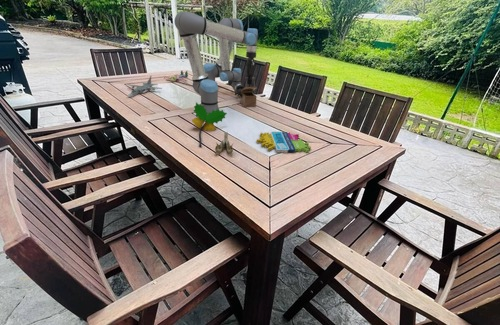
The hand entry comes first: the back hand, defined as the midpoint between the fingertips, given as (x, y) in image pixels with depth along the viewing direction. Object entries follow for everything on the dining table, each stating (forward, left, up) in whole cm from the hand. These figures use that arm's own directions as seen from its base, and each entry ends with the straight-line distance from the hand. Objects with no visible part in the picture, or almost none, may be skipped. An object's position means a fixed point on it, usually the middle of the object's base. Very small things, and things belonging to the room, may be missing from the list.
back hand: (247, 95), depth 214 cm
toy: (-103, -4, -7) cm, 104 cm away
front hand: (+3, -2, +10) cm, 11 cm away
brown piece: (+2, -1, +5) cm, 6 cm away
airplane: (-73, -56, -7) cm, 92 cm away
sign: (+69, -36, -7) cm, 78 cm away
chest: (+2, -1, -7) cm, 7 cm away
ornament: (+27, -57, -7) cm, 64 cm away
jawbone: (+57, -69, -7) cm, 90 cm away
